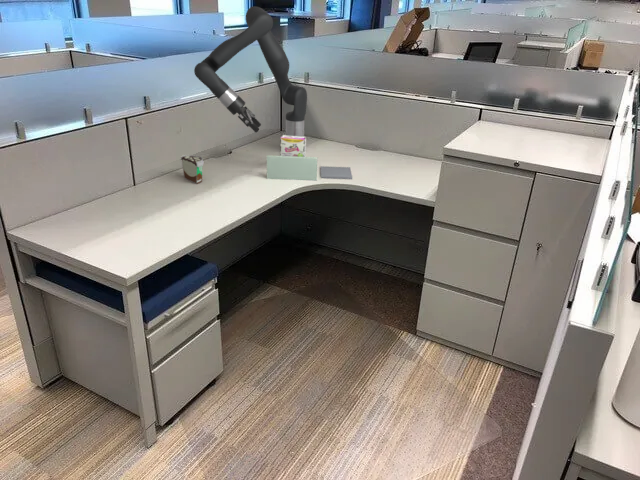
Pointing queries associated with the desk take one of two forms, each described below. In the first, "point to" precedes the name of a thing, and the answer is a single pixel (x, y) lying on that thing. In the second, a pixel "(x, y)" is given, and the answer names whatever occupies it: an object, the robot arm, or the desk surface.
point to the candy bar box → (292, 146)
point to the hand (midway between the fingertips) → (258, 128)
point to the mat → (336, 172)
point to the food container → (192, 168)
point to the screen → (292, 167)
